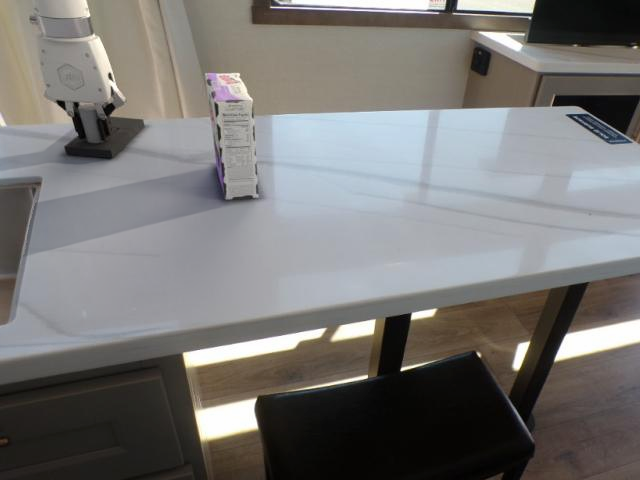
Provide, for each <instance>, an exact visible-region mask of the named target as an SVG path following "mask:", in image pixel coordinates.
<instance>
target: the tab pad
mask: <svg viewBox="0 0 640 480" xmlns="http://www.w3.org/2000/svg"><path fill="white" fill-rule="evenodd" d="M80 105H81V106H79V107H78V110H79V113H80V117H81V120H82V124H83V128H84V131H85V135H86V138H85V139H83V140H82V139H79V136H78V135H77V136H75V137H74V138H73V139H72V140H70V141H69V142H68V143H67V144H65V145H64V146H63V148H64V151H65V154H66V155H67V156H79V157H91V158H92V157H93V158H102V159H103V158H104V159H105V158H106V159H113V158H115V157H116V156H117V155H118V154H119V153H120V152H121V151H122V150H123V149H124V147H126V146H127V145H128V144H129V143H130V142H131V141H129V136H128V134H121V133H115V132H116V131H117V130H118V129H117V128H113V136H112V137H111V138H110V139H109V140H108V141H103V140H101V136H100V132H99V128H98V125H97V119H99V116H98V113H97V111H96V108H95V106H94V103H83V104H80Z"/></svg>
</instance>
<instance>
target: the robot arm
mask: <svg viewBox="0 0 640 480" xmlns="http://www.w3.org/2000/svg"><path fill="white" fill-rule="evenodd" d="M31 4H32V7H33V10H34V13H33V14H34V15H32V14H30V15H29V17H28V20H29V22H30V24H31V25H33V26H36V27H38V30H39V32H40V33H38V34H37V35H36V49H37V56H38V63H39V67H40V72H41V76H42V80H43V84H44V87H45V88H44V89H45V90H44V93H43V96H44V98H45V99H47V100H49V101H51V102H53V103H54V104H57V106H58V107H59V108H61V109H62V110H63V111H64V112H66V115H67V116H68V117H69V118H71V121H72V124H73V127H74V131H75V133H77V136H79V139H82V140H83V139H85V138H86V135H85V131H84V128H83V124H82V120H81V117H80V113H79V110H78V107H79V106H81V105H82V104H81V103H83V104H94V106H95V108H96V111H97V113H98V116H99V119H97V125H98V128H99V132H100V136H101V140H103V141H108V140H109V139H110V138H111V137H112V136H113V127H112V123H111V119H110V116H111V115H112V114H113V113H114V111H115V110H117V109H119V108H120V107H122V106H124V105H125V104H127V98H126V97H125V96H124V94H123V93H122V92H121V91H120V89H119V88H118V86H117V83H116V79H115V75H114V72H113V68H112V65H111V63H110V60H109V56H108V54H107V51H106V49H105V47H104V44H103V42H102V40H101V38H100V36H99V35H96V34H95V30H94V26H93V21H92V18H91V17H92V16H91V14H90V8H89V4H88V1H87V0H31ZM111 98H112V99H113V100H111ZM109 100H111V101H110V102H109Z"/></svg>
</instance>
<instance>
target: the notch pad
mask: <svg viewBox="0 0 640 480" xmlns="http://www.w3.org/2000/svg"><path fill="white" fill-rule="evenodd" d="M110 119H111V123H112V127H113V128H117V129H118V130H117V131H116V132H115V133H121V134H128V136H129V141H130V142H131V141H132V140H133V139H134V138H135V137H136V136H137V135H138V134H139V133H140V132H141V131H142V130H143V129H144V128H145V127H146V125H145V121H144V119H143V118H132V117H122V116H121V117H120V116H111V115H110Z"/></svg>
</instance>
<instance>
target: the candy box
mask: <svg viewBox="0 0 640 480" xmlns="http://www.w3.org/2000/svg"><path fill="white" fill-rule="evenodd" d="M204 77H205V87H206V93H207V101H208V109H209V116H210V123H211V131H212V139H213V148H214V157H215V166H216V171H217V174H218V177H219V182H220V185H221V190H222V193H223V197H224V200H225V201H226V200H244V199H245V200H246V199H259V197H260V195H259V194H260V193H259V179H258V178H259V177H258V165H257V164H258V163H257V149H256V148H257V146H256V129H255V128H256V127H255V114H254V113H255V112H254V99H253V98H252V97H251V95H250V93H249V90H248V88H247V86H246V84H245V82H244V81H243V78H242V76H241V74H240V72H205V73H204Z"/></svg>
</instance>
